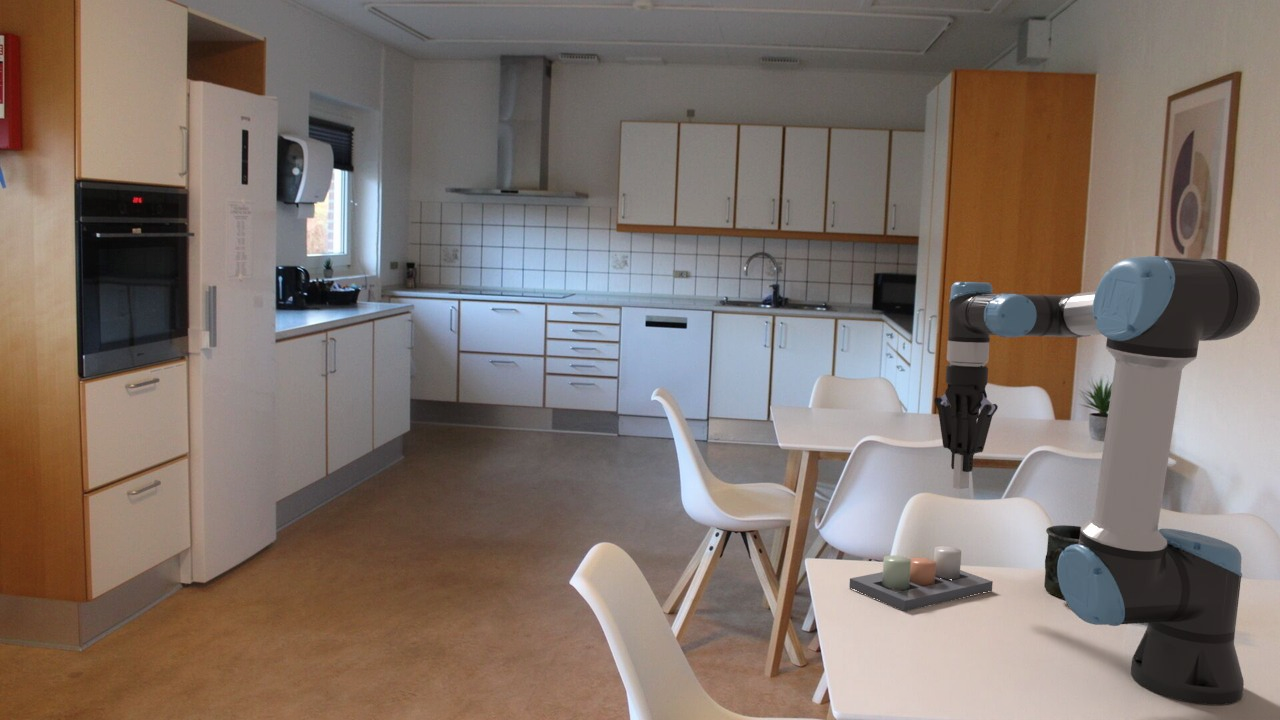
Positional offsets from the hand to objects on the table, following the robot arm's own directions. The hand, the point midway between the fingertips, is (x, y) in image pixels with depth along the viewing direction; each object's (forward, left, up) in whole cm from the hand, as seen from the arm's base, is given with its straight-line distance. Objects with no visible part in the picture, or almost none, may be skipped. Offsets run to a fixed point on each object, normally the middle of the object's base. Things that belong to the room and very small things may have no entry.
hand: (960, 487), depth 194 cm
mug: (-11, -19, -21) cm, 30 cm away
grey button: (+4, -2, -18) cm, 19 cm away
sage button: (+4, +12, -18) cm, 22 cm away
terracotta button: (+4, +5, -20) cm, 21 cm away
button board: (+4, +5, -20) cm, 21 cm away
